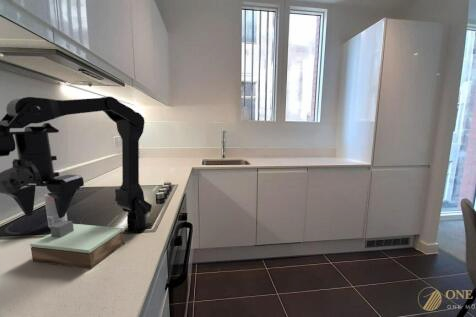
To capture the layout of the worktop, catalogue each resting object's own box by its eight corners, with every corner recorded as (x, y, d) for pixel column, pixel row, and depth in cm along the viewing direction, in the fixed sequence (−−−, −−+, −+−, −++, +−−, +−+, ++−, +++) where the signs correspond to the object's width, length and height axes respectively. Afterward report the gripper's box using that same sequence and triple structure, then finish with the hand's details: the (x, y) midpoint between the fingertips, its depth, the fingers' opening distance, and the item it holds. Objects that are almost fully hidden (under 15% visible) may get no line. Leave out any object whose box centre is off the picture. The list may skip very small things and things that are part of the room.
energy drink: (65, 221, 83) (61, 190, 82) (69, 225, 80) (65, 193, 78) (47, 226, 79) (42, 194, 78) (50, 230, 76) (45, 197, 74)
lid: (72, 226, 70) (70, 214, 69) (122, 230, 66) (121, 218, 66) (30, 246, 58) (28, 232, 58) (89, 253, 55) (87, 238, 54)
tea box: (73, 238, 70) (72, 226, 70) (124, 243, 67) (122, 231, 67) (32, 261, 59) (30, 247, 58) (91, 269, 55) (89, 254, 55)
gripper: (-46, 158, 45) (-30, 230, 48) (32, 159, 42) (45, 235, 45) (16, 151, 56) (26, 209, 58) (81, 151, 53) (89, 213, 56)
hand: (45, 216), depth 54 cm, fingers open, 9 cm apart
